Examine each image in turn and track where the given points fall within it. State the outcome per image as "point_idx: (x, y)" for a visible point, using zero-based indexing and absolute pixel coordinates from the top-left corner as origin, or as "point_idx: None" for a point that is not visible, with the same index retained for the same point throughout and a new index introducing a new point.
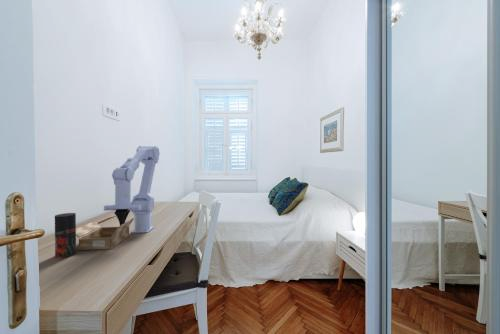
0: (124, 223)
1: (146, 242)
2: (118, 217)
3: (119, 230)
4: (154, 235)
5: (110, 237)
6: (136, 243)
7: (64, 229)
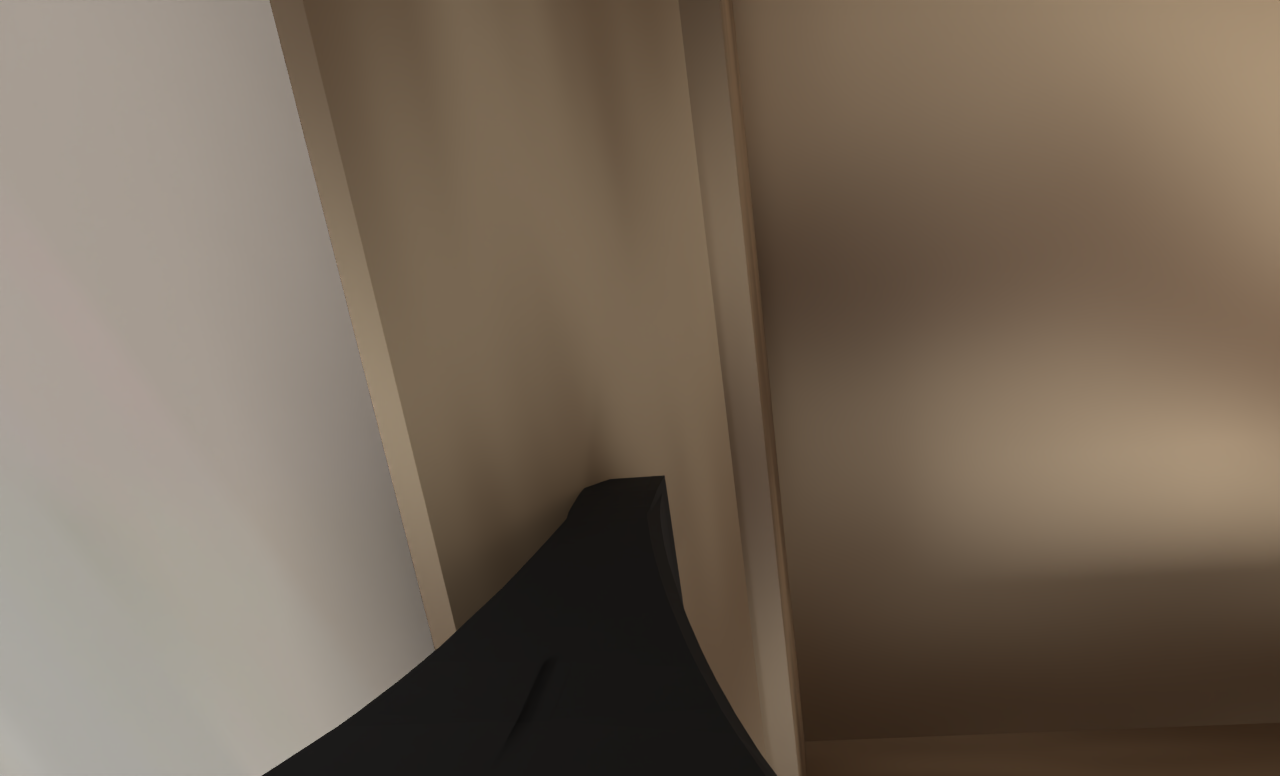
0: (439, 582)
1: (35, 309)
2: (646, 741)
3: (598, 272)
4: (181, 755)
5: (1215, 638)
6: (243, 238)
7: None
